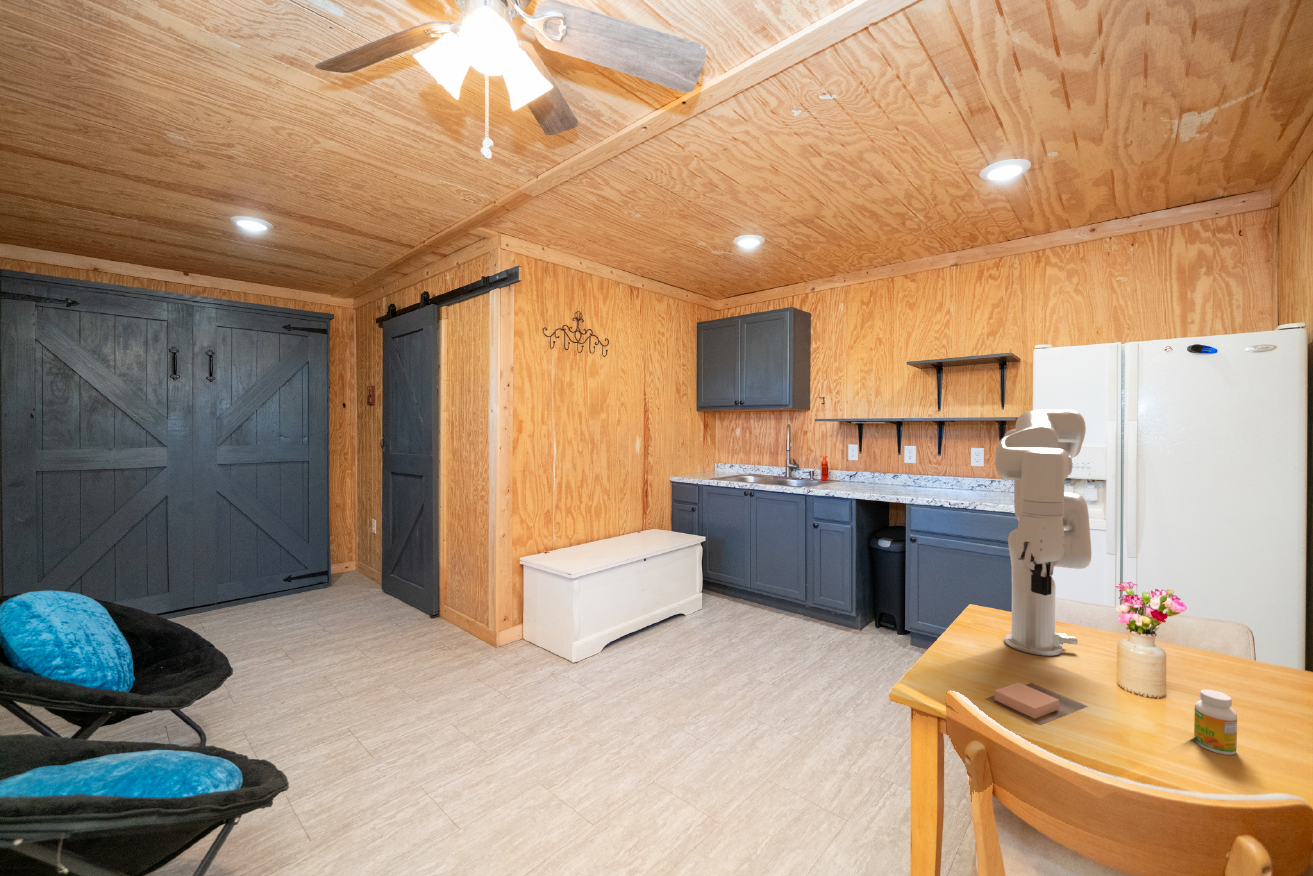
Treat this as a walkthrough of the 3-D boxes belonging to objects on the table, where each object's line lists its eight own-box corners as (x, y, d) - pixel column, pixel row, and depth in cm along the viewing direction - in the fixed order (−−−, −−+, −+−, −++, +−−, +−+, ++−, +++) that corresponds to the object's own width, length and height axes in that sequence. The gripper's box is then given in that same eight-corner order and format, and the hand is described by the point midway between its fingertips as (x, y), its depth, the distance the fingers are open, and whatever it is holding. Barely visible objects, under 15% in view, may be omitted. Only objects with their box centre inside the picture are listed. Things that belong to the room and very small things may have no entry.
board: (1031, 688, 120) (1031, 682, 120) (1087, 711, 110) (1087, 706, 110) (984, 704, 113) (984, 698, 113) (1040, 731, 103) (1040, 724, 103)
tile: (1018, 682, 115) (994, 690, 112) (1059, 699, 108) (1034, 708, 105) (1018, 692, 115) (994, 700, 112) (1059, 710, 108) (1034, 720, 105)
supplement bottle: (1185, 739, 100) (1186, 688, 100) (1211, 737, 101) (1212, 686, 100) (1218, 756, 95) (1219, 702, 95) (1245, 754, 95) (1246, 701, 95)
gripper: (1043, 503, 120) (1042, 583, 121) (1002, 509, 114) (1001, 593, 115) (1081, 508, 114) (1080, 592, 114) (1040, 514, 107) (1039, 604, 108)
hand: (1041, 593), depth 115 cm, fingers closed
